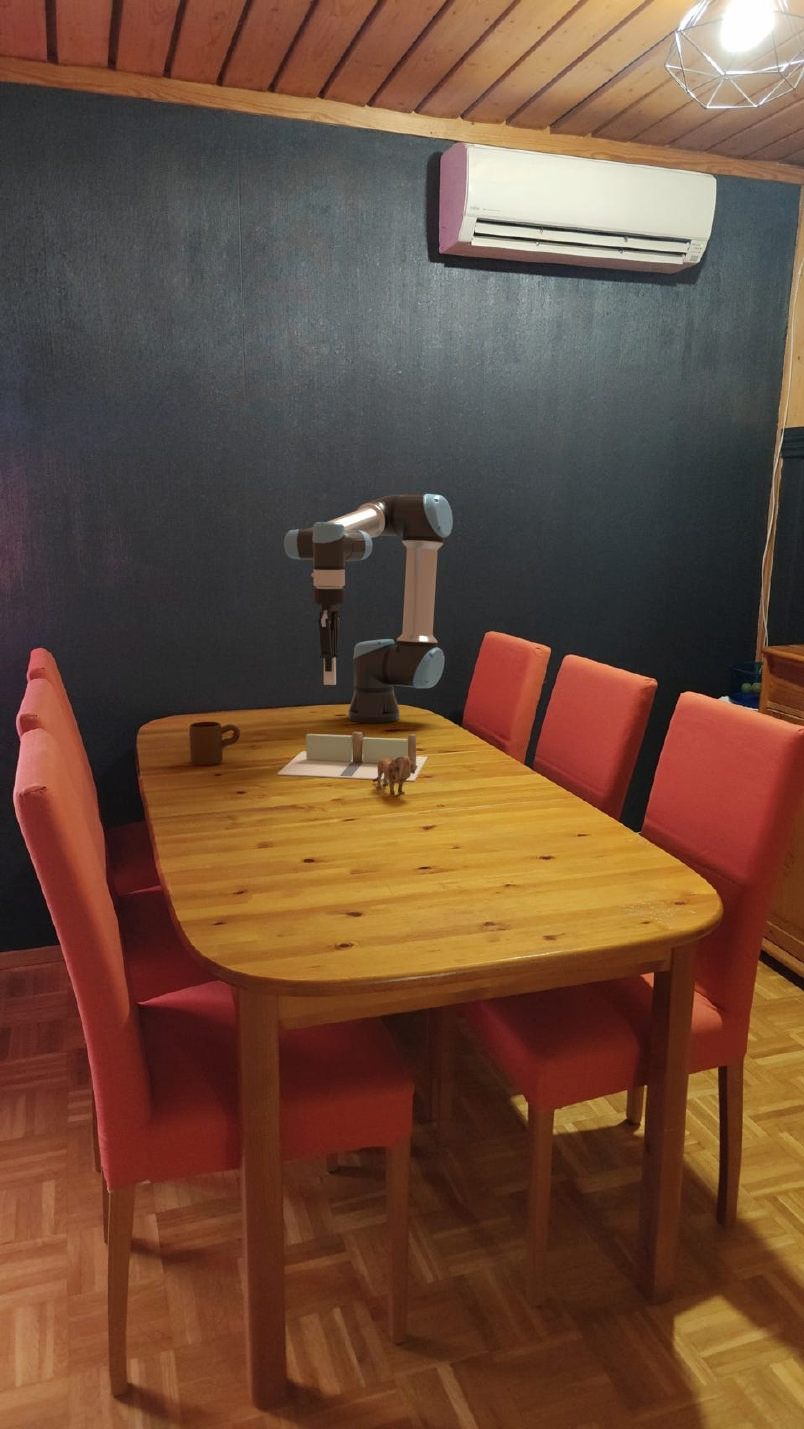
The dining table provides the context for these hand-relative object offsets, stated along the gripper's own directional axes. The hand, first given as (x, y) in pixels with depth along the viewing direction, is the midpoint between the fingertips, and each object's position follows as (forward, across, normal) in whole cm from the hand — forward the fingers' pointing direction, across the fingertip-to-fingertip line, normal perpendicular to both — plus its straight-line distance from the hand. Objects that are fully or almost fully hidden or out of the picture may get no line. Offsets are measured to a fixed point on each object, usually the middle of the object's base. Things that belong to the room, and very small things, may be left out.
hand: (329, 684), depth 236 cm
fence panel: (+18, +6, +1) cm, 18 cm away
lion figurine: (+19, +28, +21) cm, 40 cm away
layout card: (+18, +9, +8) cm, 22 cm away
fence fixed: (+18, +6, +15) cm, 24 cm away
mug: (+19, +11, -26) cm, 34 cm away
